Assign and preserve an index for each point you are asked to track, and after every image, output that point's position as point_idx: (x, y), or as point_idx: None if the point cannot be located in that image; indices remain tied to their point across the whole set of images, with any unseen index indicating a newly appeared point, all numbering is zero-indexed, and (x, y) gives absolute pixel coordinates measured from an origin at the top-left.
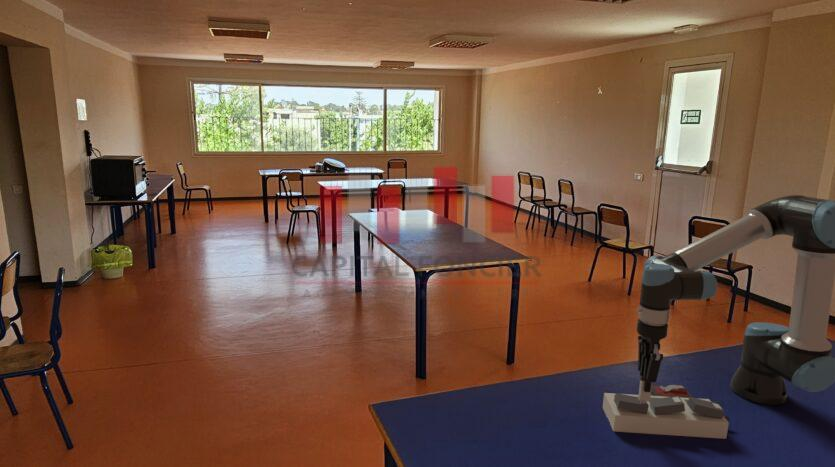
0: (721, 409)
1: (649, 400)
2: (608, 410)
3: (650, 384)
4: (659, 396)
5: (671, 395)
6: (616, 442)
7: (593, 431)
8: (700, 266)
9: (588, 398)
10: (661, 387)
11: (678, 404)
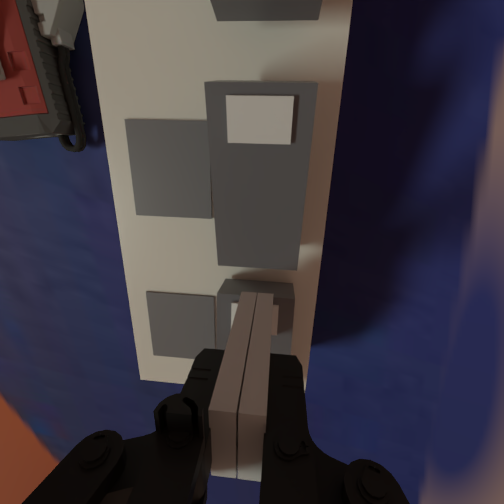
0: None
1: (272, 300)
2: None
3: (306, 420)
4: (109, 150)
5: (25, 39)
6: (359, 358)
7: None
8: None
9: (117, 358)
10: None
11: (311, 129)
